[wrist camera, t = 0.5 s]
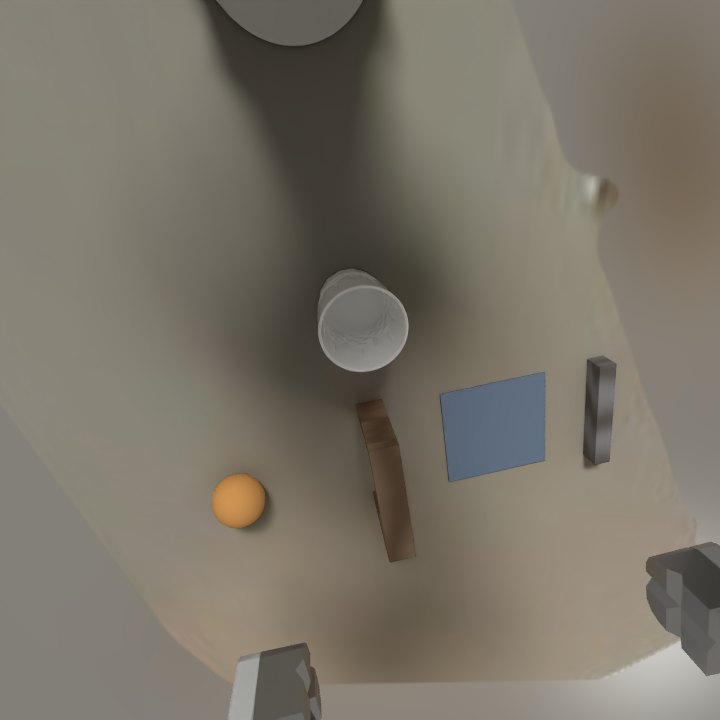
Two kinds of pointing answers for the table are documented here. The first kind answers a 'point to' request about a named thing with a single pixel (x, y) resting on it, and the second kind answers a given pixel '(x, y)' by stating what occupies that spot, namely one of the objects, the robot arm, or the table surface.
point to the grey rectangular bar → (599, 409)
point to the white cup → (360, 321)
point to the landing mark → (494, 426)
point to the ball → (238, 500)
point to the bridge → (387, 480)
